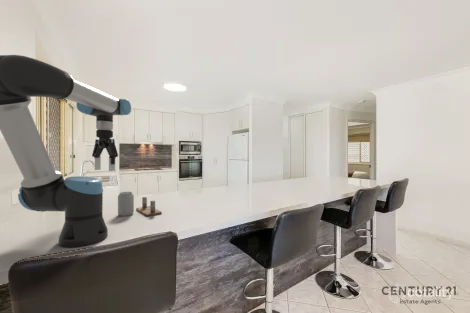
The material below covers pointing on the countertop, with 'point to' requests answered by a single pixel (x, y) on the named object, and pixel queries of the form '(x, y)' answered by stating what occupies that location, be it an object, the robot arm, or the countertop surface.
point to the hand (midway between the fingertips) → (104, 170)
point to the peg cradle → (148, 208)
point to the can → (125, 203)
